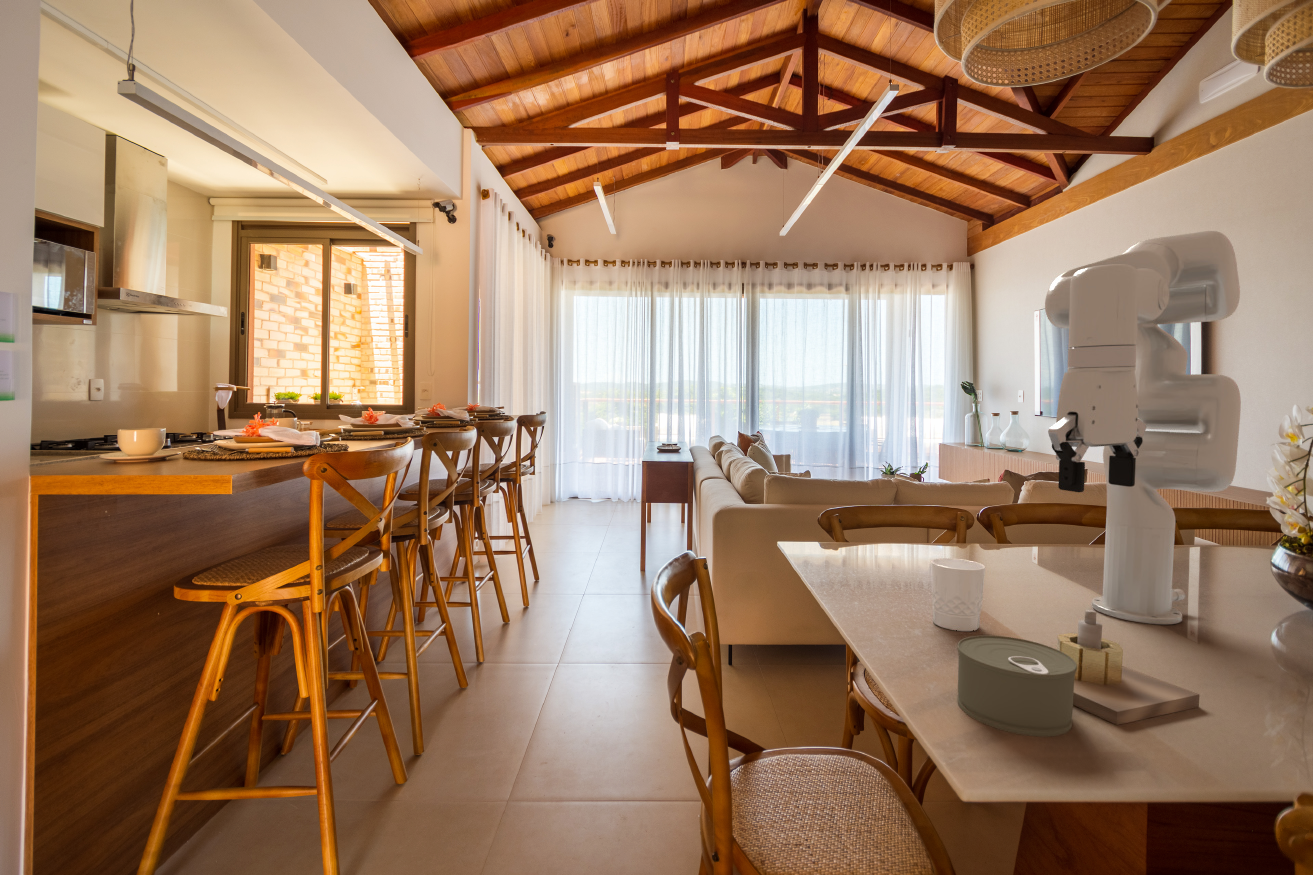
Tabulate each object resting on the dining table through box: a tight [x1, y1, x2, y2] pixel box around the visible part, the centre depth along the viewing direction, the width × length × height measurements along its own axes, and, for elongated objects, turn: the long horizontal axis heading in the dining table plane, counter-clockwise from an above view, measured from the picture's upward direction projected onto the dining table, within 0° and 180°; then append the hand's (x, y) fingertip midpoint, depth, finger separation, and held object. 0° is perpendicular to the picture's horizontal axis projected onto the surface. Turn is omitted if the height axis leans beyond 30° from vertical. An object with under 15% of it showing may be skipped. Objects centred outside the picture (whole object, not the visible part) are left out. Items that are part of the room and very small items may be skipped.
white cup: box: [930, 557, 986, 632], centre depth 104 cm, size 8×8×10 cm
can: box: [956, 634, 1077, 738], centre depth 74 cm, size 12×12×7 cm
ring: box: [1056, 632, 1124, 685], centre depth 82 cm, size 7×7×4 cm
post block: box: [1049, 609, 1201, 726], centre depth 82 cm, size 14×17×10 cm
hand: (1096, 487), depth 88 cm, fingers open, 9 cm apart
